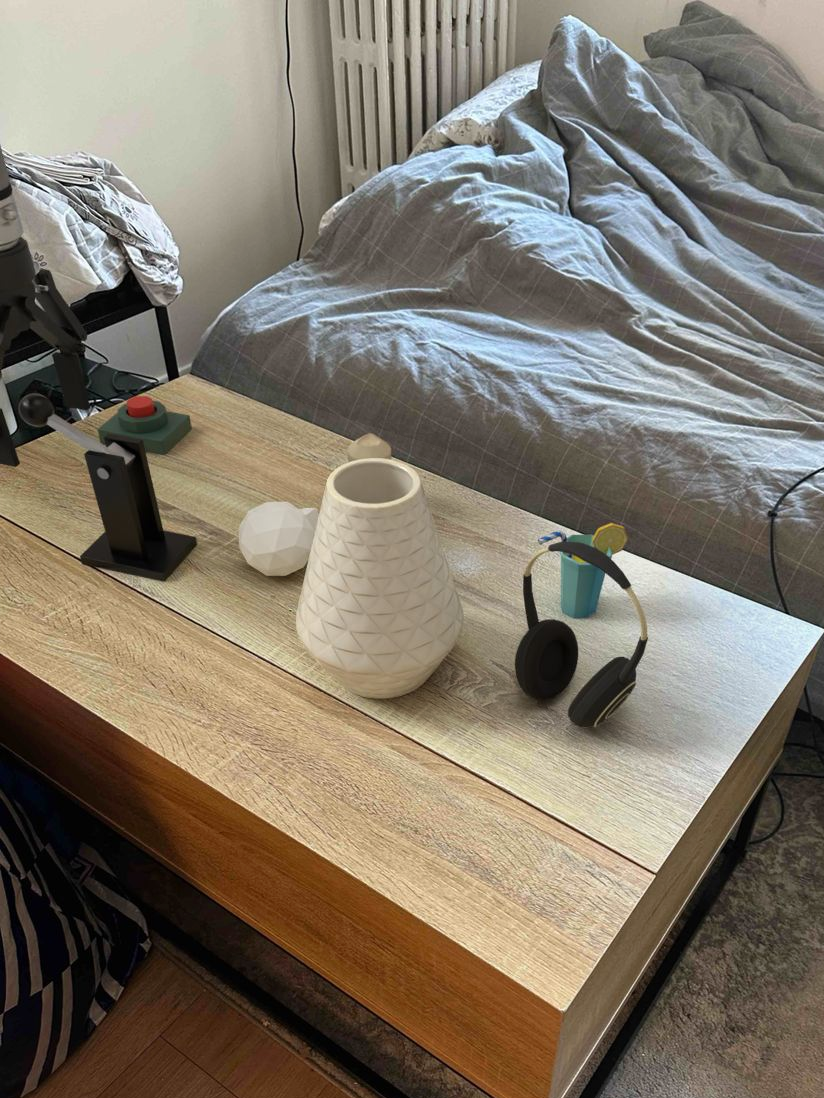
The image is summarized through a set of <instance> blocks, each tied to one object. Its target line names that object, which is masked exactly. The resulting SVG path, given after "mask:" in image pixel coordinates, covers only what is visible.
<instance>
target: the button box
mask: <svg viewBox="0 0 824 1098" xmlns="http://www.w3.org/2000/svg"><path fill="white" fill-rule="evenodd" d="M153 403H154V408H155V413H154V414H153V415H151V416H148V417H143V418H135V417H130V416H129V413H128V409H127V405H126V403H124V404H123V405H121V406H120V407H119V408H117V412H116V413H115V414H114V415H113V416H111V417H110V418H109V419H107V421H105V422H104V423H103V424H102V425H100V426H99V427H98V428H97V434H98V438H99V442H100V443H101V444H103V445H106V444H105V440H104V437H105V436H106V435H107V434H108V433H109V434H115V435H120V436H126V437H131V438H137V439H142V440H143V443H144V447H145V451H146V453H152V454H157V455H162V456H165V455H166V454H167V453H169V451H171V449H172V448H174V447H175V446H176V445H177V444H178V443H179V442H180V441H181V440H182V439H183V438H184V437H186V435H187V434H188V433H189V432H191V430H192V429H193V426H192V422H191V416H190V414H185V413H181V412H179V413H178V412H173V411H167V407H166V405H165V404H163V403H161V402H160V401H159V400H153Z"/></svg>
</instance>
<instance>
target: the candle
mask: <svg viewBox="0 0 824 1098" xmlns="http://www.w3.org/2000/svg"><path fill="white" fill-rule="evenodd" d="M346 449H347V450H346V451H347V452H346V454H347V463H348V462H351V461H355V460H359V459H367V458H382V459H390V460H392V448H391V445H390V444H388V443H387V442H386V441H385V440H383V439H381V438H380V437H378V436H377V435H375V434H374V433H370V432H369V433H366V434H364V435H362V436H361V437H359V438H357V439H355V440H353V441H352V442H351V443H350V444H349V445H348V446H347V448H346Z"/></svg>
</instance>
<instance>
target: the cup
mask: <svg viewBox="0 0 824 1098" xmlns="http://www.w3.org/2000/svg"><path fill="white" fill-rule="evenodd" d="M557 538H560V540H561V542H579V543H584V544H587V545H589V546H592V547H595V548H597V549H599V550H600V551H602V552H603V553H604V554H606V555H607V556H608V557H609V558H611V559H612V558H613V556H614V555H615V554H618V553H620V552H622V551H623V550H624V548H625V546H626V544H627V542H628V541H629V538H628V535H627V532H626V529H625V527H624V526H623V525H620V524H616V523H613V522H610V523H608V524H605V525H603V526H601V527H597V530H596V532H595V533H594V534H591V533H590V534H588V533H587V534H571V535H570V536H568V537H567V534H566V533H565V532H564V531H562V530H555V531H553V532H550V533H548V534H546V535H544V536H542V537H540V538H537V543H538V544H539V545H540V546H541V545H543V544H545V543H548V542H551V541H552V540H555V539H557ZM559 555H560V606H561V612H562V613H563V614H565V615H567V616H569V617H571V618H572V619H588V618H589V617H591V616H592V615H593V614H594V613H596V612H597V608H598V604H599V599H600V596H601V592H602V589H603V586H604V585H603V584H604V580H605V578H606V577H605V576H606V573H604V572H603V571H602V570H601V569H599V568H597V567H596V566H594V565H592V564H589V563H587V562H585V561H583V560H581V559H580V558H578V557H576V556H574V555H572V554H569V553H565V552H559Z"/></svg>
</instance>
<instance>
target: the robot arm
mask: <svg viewBox="0 0 824 1098" xmlns="http://www.w3.org/2000/svg"><path fill="white" fill-rule="evenodd" d="M24 233H25V231H24V227H23V223H22V221H21V217H20V214H19V209H18V207H17V204H16V200H15V196H14V190H13V186H12V183H11V180H10V176H9V172H8V168H7V165H6V161H5V157H4V153H3V149H2V146H1V145H0V377H1V375H2V371H3V363H4V359H5V352H6V351H7V350H9V349H10V347H11V344H12V340H13V339H15V338H17V337H18V336H19V334H21V332H25V331H28V330H29V329H31V331H33V332H35V333H36V334H37V335H38V336H40V338H41V339H43V340H44V341H45V342H47V343H48V344H49V345H50V346H52V347H53V349H55V350H57V351H55V352H53V353H52V354H51V357H52V361H53V364H54V368H55V371H56V375H57V379H58V382H59V385H60V389H61V392H62V396H63V400H64V403H65V407H66V408H71V409H75V410H81V411H89V409H91V405H90V401H89V397H88V394H87V390H86V385H85V382H84V379H83V378H84V375H83V374H84V372H83V368H82V364H81V360H80V356H79V354H80V355H84V354H85V353H86V350H87V348H86V344H85V343H83V342H86V341H87V340H88V333H87V331H86V329H85V328H84V327H83V325H82V324H81V322H80V321H79V319H78V318H77V316H76V314H74V312H73V310H72V309H71V308H70V305H68V303H67V302H66V300H65V298H64V297H63V296H62V294H61V293H60V291H59V290H58V288H57V286H56V283H55V280H54V277H53V274H52V272H51V271H50V269H44V268H37V267H35V265H34V260H33V258H32V253H31V251H30V246H29V243H28V241H27V240H26V239H25V238H24V237H22V236H23V234H24ZM35 300H36V301H37V302H38V304H39V305H40V306H39V305H38V304H37V302H36V301H35ZM58 351H59V352H58ZM20 462H21V461H20V459H19V456H18V452H17V450H16V447H15V444H14V441H13V437H12V435H11V432H10V429H9V426H8V423H7V420H6V417H5V414H4V411H3V408H0V465H3V466H7V467H8V466H9V467H12V468H13V467H14V468H16V467H18V466H20V465H21V463H20Z"/></svg>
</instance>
